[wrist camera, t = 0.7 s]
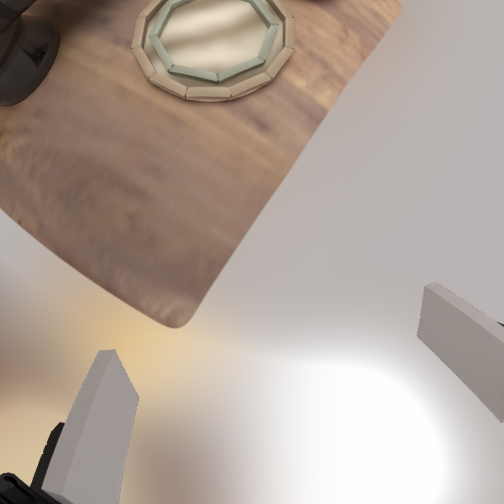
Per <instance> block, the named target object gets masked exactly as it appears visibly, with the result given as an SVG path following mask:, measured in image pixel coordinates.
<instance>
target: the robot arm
mask: <svg viewBox="0 0 504 504" xmlns="http://www.w3.org/2000/svg"><path fill="white" fill-rule="evenodd" d="M36 1H37V0H0V105H5V106H9V105H13V104H16V103H18V102H20V101H22V100H23V99H25V98H26V97H27V96H28V95H30V94H31V93H32V92H33V91H34V90H35V89H36V88H37V86H38V85H39V84H40V83H41V82H42V80H43V79H44V77H45V76H46V74H47V73H48V71H49V69H50V68H51V66H52V64H53V62H54V59H55V57H56V54H57V51H58V47H59V31H58V29H57V27H56V26H55V25H54V24H53V23H52V22H50V21H49V20H48V19H46V18H43V17H35V16H26V15H21V14H22V13H23V12H25V11H26V10H27V9H28V8H29V7H30V6H31V5H32V4H33V3H34V2H36ZM417 337H418V338H419V339H420V340H421V341H422V342H423V343H424V344H425V345H426V346H427V347H428V348H429V349H431V350H432V352H434V353H435V354H436V355H437V356H438V357H439V358H440V359H441V360H442V361H443V362H444V363H445V364H446V365H447V366H448V367H449V368H450V369H451V370H452V371H453V372H454V373H455V374H456V375H457V376H458V377H459V378H460V379H461V380H462V382H463V383H464V384H466V386H467V387H468V388H469V389H470V390H471V391H472V392H473V393H474V394H475V395H476V396H477V397H478V398H479V399H480V400H481V401H482V403H484V404H485V405H486V407H487V408H488V409H489V410H490V411H491V412H492V413H493V414H494V416H495V417H496V418H497V419H498V420H499V421H500V422H501V423H502V422H503V421H504V324H501V323H499V322H496V321H494V320H493V319H491V318H490V317H489V316H487V315H486V314H484V313H483V312H482V311H480V310H479V309H477V308H475V307H474V306H473V305H471V304H470V303H468V302H467V301H465V300H464V299H462V298H461V297H459V296H458V295H456V294H455V293H453V292H452V291H450V290H448V289H447V288H445V287H444V286H442V285H441V284H439V283H437V282H434V283H431V284H428V285H425V286H424V294H423V301H422V309H421V315H420V321H419V326H418V332H417ZM138 401H139V396H138V394H137V392H136V390H135V389H134V387H133V385H132V383H131V381H130V379H129V377H128V375H127V373H126V371H125V369H124V367H123V366H122V363H121V361H120V359H119V357H118V355H117V353H116V351H115V349H114V350H102V351H99V352H98V354H97V356H96V358H95V360H94V362H93V364H92V366H91V368H90V370H89V372H88V374H87V376H86V378H85V380H84V382H83V384H82V387H81V389H80V391H79V393H78V395H77V397H76V400H75V402H74V404H73V406H72V409H71V411H70V413H69V415H68V418H67V420H66V423H61V422H60V423H59V424H58V425H57V426H56V427H55V428H54V429H53V431H51V434H50V436H49V438H48V441H47V445H45V448H44V451H43V454H42V456H41V458H40V461H39V463H38V466H37V469H36V472H35V474H34V477H33V480H32V483H31V485H30V487H29V486H27V485H26V484H25V483H24V482H23V481H22V480H20V479H19V478H18V477H17V476H16V475H15V474H12V473H3V474H1V475H0V504H119V499H120V492H121V486H122V480H123V473H124V468H125V463H126V457H127V452H128V446H129V442H130V437H131V432H132V428H133V423H134V419H135V414H136V410H137V406H138Z"/></svg>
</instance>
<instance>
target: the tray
mask: <svg viewBox="0 0 504 504" xmlns="http://www.w3.org/2000/svg"><path fill="white" fill-rule="evenodd" d="M138 16H139V17H137V21H136V26H135V31H134V36H133V41H132V47H131V48H132V51H133V53H134V55H135V57H136V58H137V60H138V62H139V64H140V66H141V68H142V69H143V71H144V73H145V75H146V77H147V78H148V80H149V81H150V82H151V83H153V84H155V85H157V86H159V87H160V88H161V89H163V90H165V91H166V92H168V93H170V94H172V95H175V96H177V97H180V98H183V99H187V100H192V101H199V102H219V101H226V100H231V99H235V98H239V97H242V96H244V95H247V94H250V93H252V92H254V91H255V90H257V89H259V88H261V87H262V86H264V85H266V84H268V83H270V82H271V81H272V80H273V78H274V77H275V76H276V74H277V73H278V72H279V70H280V69H281V67H282V66H283V65H284V64H285V62H286V61H287V60H288V58H289V57H290V56H291V54H292V53H293V52H294V49H295V18H294V16H293V14H292V13H291V12H290V10H289V9H288V8H287V6H286V5H285V4H284V2H283V1H282V0H152V1H151V2H150V3H149V4H148V5H147V6H146V7H145V8H144V10H143V11H142V12H141V13H140V14H139V15H138Z"/></svg>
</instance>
